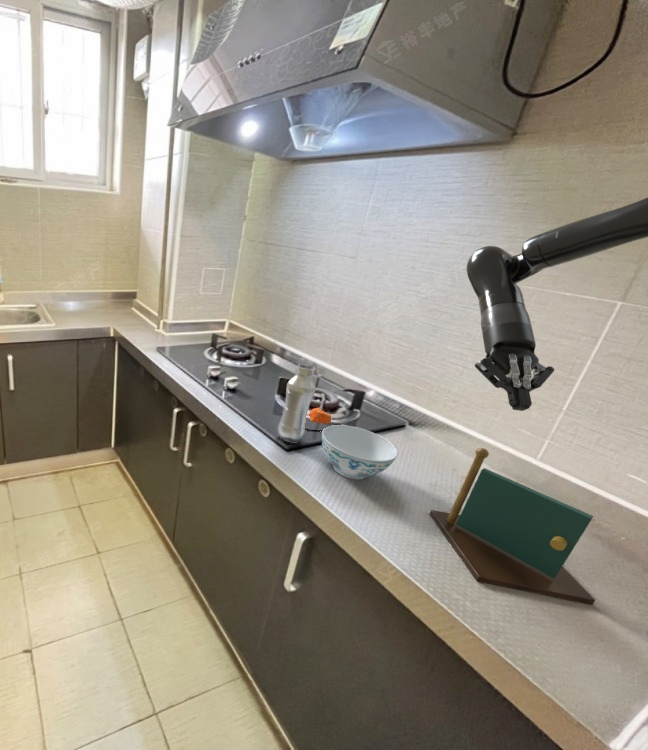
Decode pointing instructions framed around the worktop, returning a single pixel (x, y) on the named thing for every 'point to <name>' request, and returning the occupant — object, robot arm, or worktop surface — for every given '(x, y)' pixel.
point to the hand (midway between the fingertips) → (521, 409)
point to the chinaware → (357, 451)
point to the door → (523, 522)
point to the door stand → (501, 554)
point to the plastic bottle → (297, 404)
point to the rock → (319, 416)
